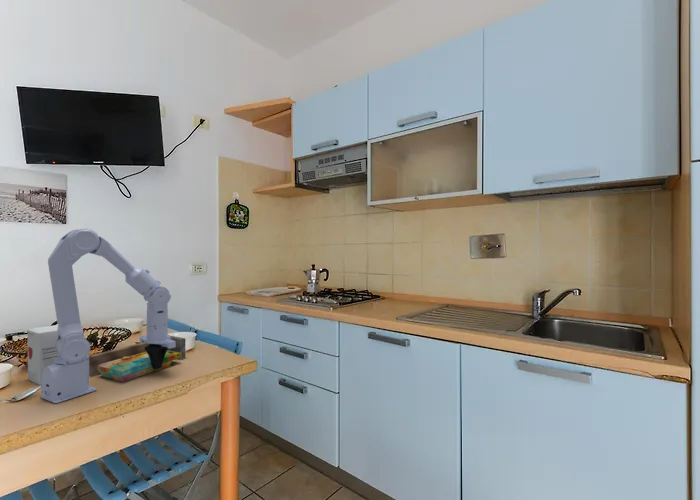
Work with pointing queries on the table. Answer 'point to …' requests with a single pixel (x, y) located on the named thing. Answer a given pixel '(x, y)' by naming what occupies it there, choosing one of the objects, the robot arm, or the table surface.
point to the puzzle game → (133, 366)
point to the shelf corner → (128, 354)
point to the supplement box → (41, 351)
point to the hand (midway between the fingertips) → (157, 368)
